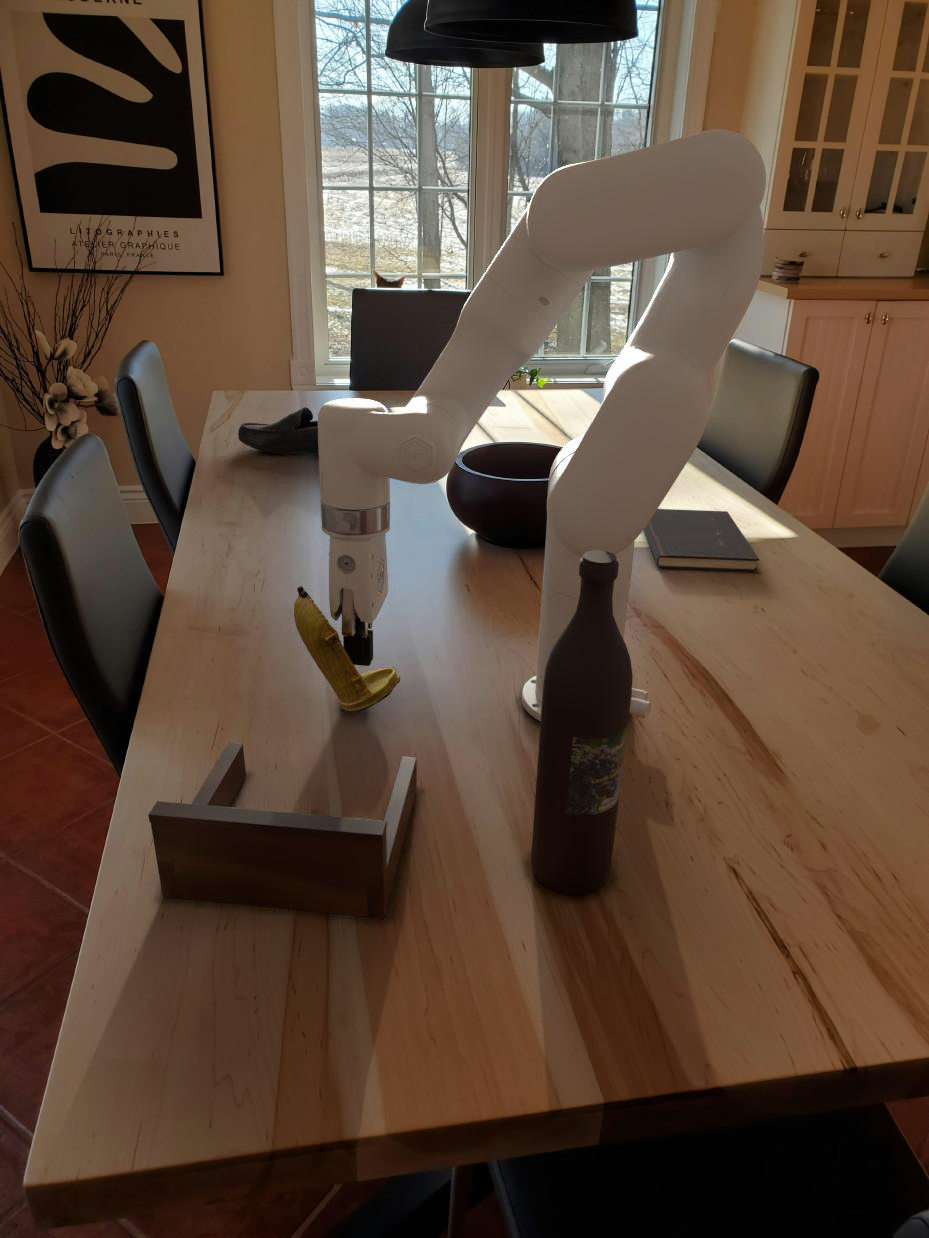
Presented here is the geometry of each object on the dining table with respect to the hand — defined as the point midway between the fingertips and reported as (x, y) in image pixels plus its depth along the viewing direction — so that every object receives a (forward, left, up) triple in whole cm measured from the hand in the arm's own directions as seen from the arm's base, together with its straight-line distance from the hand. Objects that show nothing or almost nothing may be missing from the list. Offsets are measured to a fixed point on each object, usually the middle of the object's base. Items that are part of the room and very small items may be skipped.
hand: (358, 661), depth 107 cm
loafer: (+74, -74, -4) cm, 105 cm away
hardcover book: (-17, -70, -4) cm, 72 cm away
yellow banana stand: (-2, +4, -4) cm, 6 cm away
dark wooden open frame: (-12, +24, -3) cm, 28 cm away
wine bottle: (-35, +15, -4) cm, 39 cm away
